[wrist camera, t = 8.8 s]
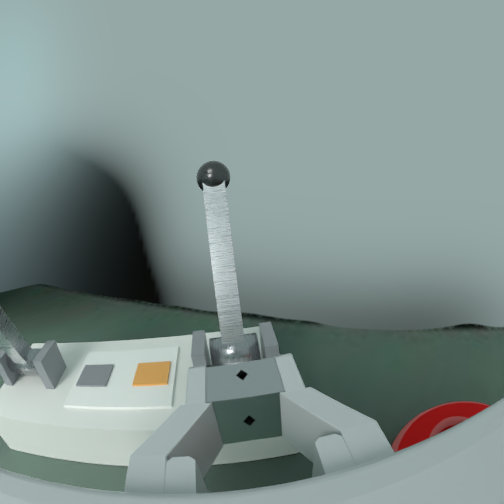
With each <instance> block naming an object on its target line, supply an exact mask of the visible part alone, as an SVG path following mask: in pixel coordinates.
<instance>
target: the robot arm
mask: <svg viewBox="0 0 504 504" xmlns="http://www.w3.org/2000/svg"><path fill="white" fill-rule="evenodd" d="M279 436H282V437H283V438H284V439H285V440H286V441H287V442H289V443H290V444H291V445H292V446H293V447H294V448H296V449H297V450H298V451H299V452H301V453H302V454H303V455H304V456H305V457H307V458H308V459H309V460H310V461H312V462H313V472H312V478H309V479H304V480H299V481H294V482H289V483H284V484H279V485H273V486H266V487H260V488H253V489H245V490H236V491H226V492H213V493H210V492H209V490H208V488H207V486H206V484H205V481H204V479H203V478H204V477H205V475H206V474H207V472H208V471H209V469H210V467H211V466H212V464H213V462H214V461H215V459H216V458H217V456H218V454H219V453H220V451H221V449H222V448H223V444H231V443H238V442H244V441H250V440H252V439H253V440H258V439H266V438H273V437H279ZM0 504H504V398H502V399H501V400H499V401H497V402H496V403H494V404H493V405H491V406H489V407H488V408H486V409H484V410H483V411H481V412H479V413H477V414H476V415H474V416H472V417H470V418H468V419H466V420H465V421H463V422H461V423H459V424H457V425H455V426H453V427H451V428H449V429H447V430H445V431H443V432H441V433H439V434H437V435H435V436H432V437H430V438H428V439H426V440H424V441H421V442H419V443H417V444H414V445H412V446H409V447H407V448H405V449H402V450H400V451H397V452H394V451H393V449H392V447H391V445H390V444H389V442H388V440H387V438H386V437H385V435H384V433H383V432H382V430H381V428H380V426H379V425H378V423H377V421H376V420H374V419H372V418H370V417H368V416H366V415H364V414H361V413H359V412H357V411H356V410H354V409H352V408H350V407H348V406H346V405H344V404H342V403H340V402H338V401H336V400H334V399H332V398H330V397H328V396H327V395H325V394H323V393H321V392H319V391H317V390H315V389H314V388H312V387H308V388H306V387H305V385H304V382H303V380H302V378H301V375H300V373H299V370H298V368H297V365H296V363H295V360H294V358H293V355H292V354H291V353H288V354H283V355H278V356H274V357H270V358H264V359H258V360H251V361H245V362H235V363H226V364H216V365H206V366H196V367H189V369H188V374H187V388H186V404H185V405H180V406H179V407H178V408H177V409H176V410H175V411H174V412H173V413H172V414H171V415H170V416H169V417H168V418H167V419H166V421H165V422H164V423H163V424H162V425H161V426H160V427H159V428H158V429H157V430H156V431H155V432H154V433H153V434H152V435H151V436H150V437H149V438H148V439H147V440H146V441H145V442H144V443H143V444H142V445H141V446H140V447H139V448H138V449H137V450H135V451H134V452H133V453H132V454H131V455H130V460H129V465H128V471H127V477H126V483H125V489H124V492H115V491H105V490H97V489H89V488H82V487H76V486H70V485H64V484H59V483H54V482H49V481H45V480H41V479H36V478H32V477H28V476H25V475H21V474H17V473H14V472H10V471H7V470H4V469H1V468H0Z"/></svg>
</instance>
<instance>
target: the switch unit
mask: <svg viewBox="0 0 504 504" xmlns="http://www.w3.org/2000/svg"><path fill="white" fill-rule="evenodd" d="M243 331H244V334H250V333H256V334H257V338H258V343H259V350H260V358H261V359H264V358H270V357H274V356H278V355H280V354H279V345H278V342H277V339H276V336H275V333H274V330H273V327H272V324H271V322H264V323H259V326H258V327H251V328H244V329H243ZM218 337H221V332H211V333H205V330H200V331H193V335H183V336H173V337H162V338H150V339H137V340H122V341H104V342H82V343H56V341H55V340H51V341H47V342H46V343H35V344H32V346H31V348H41V350H40V351H39V353H38V354H37V356H36V357H35V359H34V360H33V361H32V362H33V364H34V366H35V368H36V370H37V372H38V374H39V375H34V374H19V373H13V372H12V371H11V370H10V368H9V366H8V362H7V354H6V353H5V352H4V351H3V349H1V350H0V374H1V376H2V378H3V380H4V382H5V383H4V384H3V386H2V387H1V389H0V436H1V437H2V438H3V440H4V441H5V442H6V443H7V445H8V446H9V447H10V448H11V449H14V450H18V451H22V452H26V453H31V454H36V455H41V456H46V457H51V458H57V459H63V460H70V461H77V462H85V463H94V464H105V465H118V466H128V465H129V460H130V455H131V454H132V453H133V452H134V451H135V450H137V449H138V448H139V447H140V446H141V445H142V444H143V443H144V442H145V441H146V440H147V439H148V438H149V437H150V436H151V435H152V434H153V433H154V432H155V431H156V430H157V429H158V428H159V427H160V426H161V425H162V424H163V423H164V422H165V421H166V419H167V418H168V417H169V416H170V415H171V414H172V413H173V412H174V411H175V410H176V409H177V408H178V407H179V406H180V405H185V404H186V388H187V374H188V369H189V367H196V366H206V365H212V361H211V355H210V347H209V339H210V338H218ZM295 453H299V451H298V450H297V449H296V448H294V447H293V446H292V445H291V444H290V443H289V442H287V441H286V440H285V439H284V438H283V437H282V436H279V437H273V438H266V439H258V440H253V439H252V440H250V441H244V442H238V443H231V444H223V448H222V449H221V451H220V453H219V454H218V456H217V458H216V459H215V461H214V462H213V464H212V465H217V464H228V463H237V462H246V461H253V460H260V459H267V458H273V457H279V456H285V455H290V454H295Z"/></svg>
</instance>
